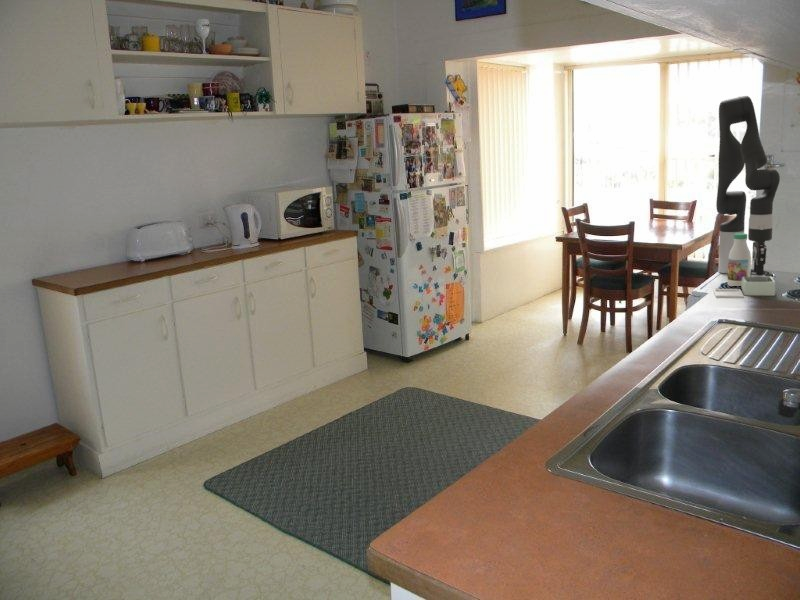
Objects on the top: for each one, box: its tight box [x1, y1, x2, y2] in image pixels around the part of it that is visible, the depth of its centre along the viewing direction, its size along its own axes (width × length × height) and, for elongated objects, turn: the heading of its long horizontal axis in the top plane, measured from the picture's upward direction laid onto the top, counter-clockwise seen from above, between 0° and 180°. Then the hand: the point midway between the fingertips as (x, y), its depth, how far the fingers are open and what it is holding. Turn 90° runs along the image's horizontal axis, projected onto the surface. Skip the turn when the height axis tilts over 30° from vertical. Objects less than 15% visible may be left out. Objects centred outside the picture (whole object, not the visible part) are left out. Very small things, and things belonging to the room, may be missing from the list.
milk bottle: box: [727, 232, 752, 287], centre depth 261 cm, size 8×8×20 cm
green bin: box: [740, 276, 776, 297], centre depth 250 cm, size 10×10×5 cm
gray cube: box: [750, 274, 768, 282], centre depth 249 cm, size 5×5×5 cm
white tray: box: [712, 288, 745, 299], centre depth 251 cm, size 11×9×1 cm
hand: (758, 273), depth 248 cm, fingers open, 5 cm apart
